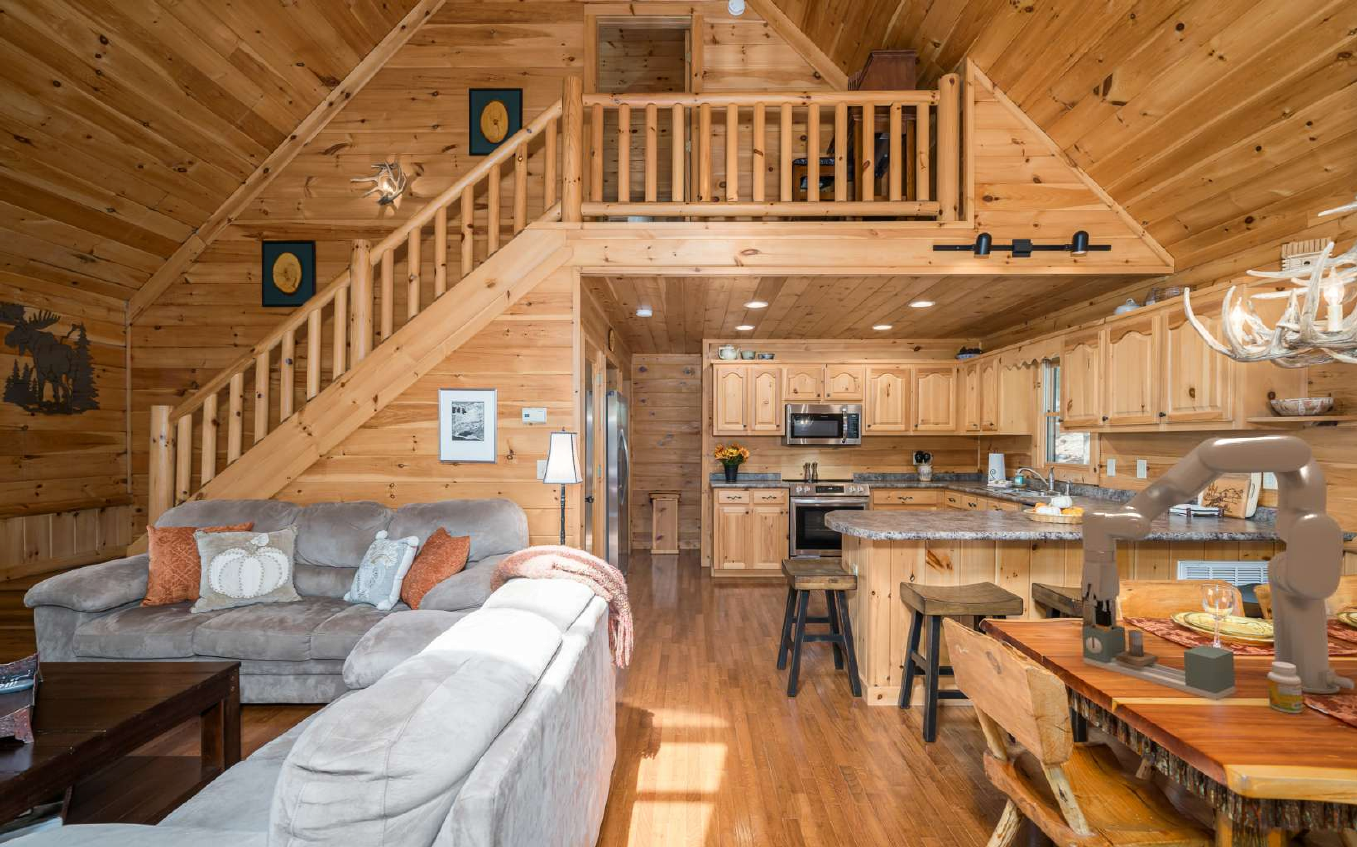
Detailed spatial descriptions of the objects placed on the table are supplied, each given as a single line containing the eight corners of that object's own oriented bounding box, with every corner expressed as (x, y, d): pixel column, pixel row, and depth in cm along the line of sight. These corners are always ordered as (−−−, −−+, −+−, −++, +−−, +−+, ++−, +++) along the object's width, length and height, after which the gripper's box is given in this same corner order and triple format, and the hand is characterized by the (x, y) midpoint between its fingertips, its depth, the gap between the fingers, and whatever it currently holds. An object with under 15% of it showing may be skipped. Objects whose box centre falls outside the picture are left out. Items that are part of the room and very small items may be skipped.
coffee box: (1082, 632, 203) (1079, 580, 203) (1105, 633, 201) (1102, 580, 202) (1094, 642, 194) (1092, 587, 194) (1118, 642, 192) (1116, 587, 193)
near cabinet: (1235, 685, 155) (1233, 651, 155) (1215, 693, 151) (1213, 658, 151) (1201, 676, 161) (1199, 643, 161) (1181, 684, 157) (1180, 650, 157)
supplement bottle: (1268, 701, 149) (1266, 658, 149) (1301, 707, 145) (1299, 663, 145) (1270, 710, 144) (1267, 665, 145) (1304, 715, 141) (1301, 670, 141)
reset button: (1114, 637, 176) (1114, 625, 176) (1106, 640, 174) (1106, 628, 174) (1100, 634, 179) (1100, 622, 179) (1093, 636, 177) (1092, 624, 177)
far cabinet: (1126, 657, 176) (1124, 627, 176) (1105, 663, 172) (1104, 633, 172) (1103, 651, 181) (1101, 622, 181) (1082, 657, 177) (1080, 627, 177)
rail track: (1235, 691, 155) (1234, 681, 155) (1216, 700, 150) (1215, 689, 151) (1103, 656, 181) (1102, 647, 181) (1083, 662, 177) (1083, 653, 177)
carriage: (1158, 661, 169) (1156, 631, 169) (1140, 667, 165) (1139, 637, 165) (1133, 654, 174) (1131, 626, 174) (1115, 660, 170) (1114, 631, 170)
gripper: (1101, 551, 184) (1105, 617, 183) (1069, 557, 177) (1073, 626, 177) (1130, 555, 177) (1134, 623, 177) (1097, 561, 170) (1101, 633, 170)
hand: (1103, 624), depth 177 cm, fingers closed
